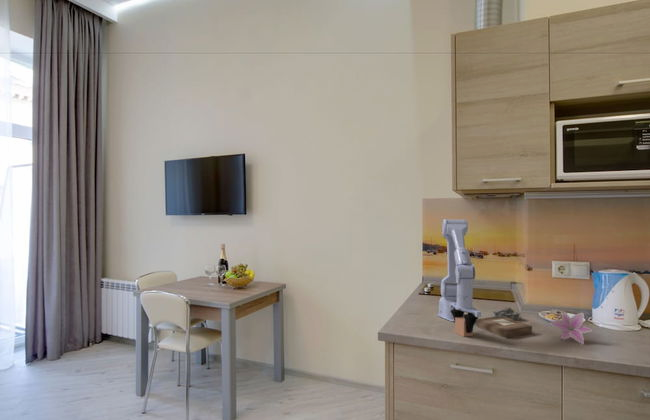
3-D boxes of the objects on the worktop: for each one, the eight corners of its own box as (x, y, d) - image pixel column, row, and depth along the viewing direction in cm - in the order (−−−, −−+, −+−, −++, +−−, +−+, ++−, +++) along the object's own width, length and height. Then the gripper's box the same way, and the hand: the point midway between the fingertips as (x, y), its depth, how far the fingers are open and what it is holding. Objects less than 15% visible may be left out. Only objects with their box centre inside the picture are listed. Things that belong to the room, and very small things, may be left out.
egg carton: (510, 315, 164) (511, 306, 164) (523, 320, 157) (523, 311, 157) (490, 316, 162) (490, 307, 162) (502, 321, 155) (502, 312, 155)
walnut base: (477, 326, 147) (477, 318, 147) (501, 322, 152) (501, 315, 152) (506, 338, 134) (506, 329, 134) (531, 333, 140) (531, 325, 140)
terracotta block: (455, 332, 139) (455, 317, 139) (464, 331, 141) (464, 316, 141) (463, 336, 135) (464, 321, 135) (473, 335, 137) (473, 319, 137)
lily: (545, 336, 140) (547, 318, 135) (563, 322, 144) (566, 304, 140) (577, 356, 130) (580, 338, 126) (596, 340, 134) (600, 321, 130)
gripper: (443, 292, 143) (442, 325, 143) (471, 300, 129) (470, 338, 130) (457, 290, 146) (456, 323, 146) (485, 299, 132) (484, 335, 132)
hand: (463, 330), depth 138 cm, fingers closed on terracotta block, 5 cm apart
